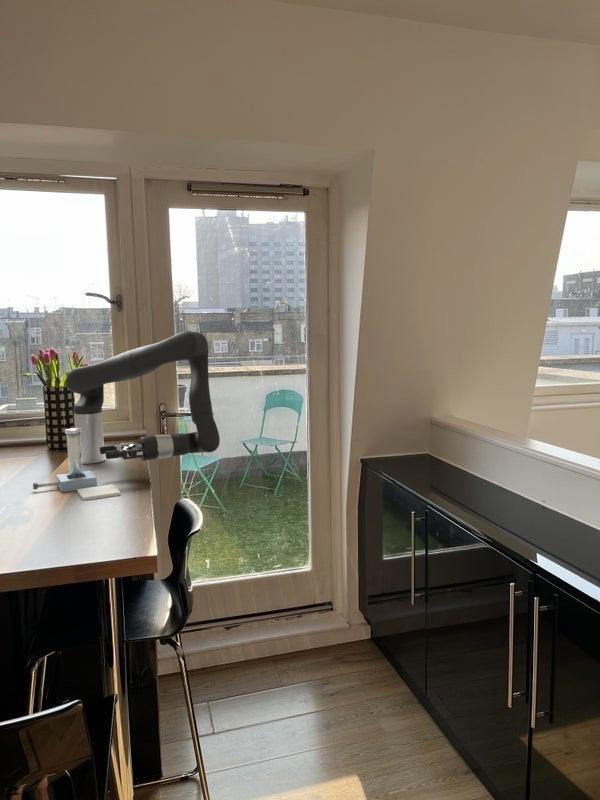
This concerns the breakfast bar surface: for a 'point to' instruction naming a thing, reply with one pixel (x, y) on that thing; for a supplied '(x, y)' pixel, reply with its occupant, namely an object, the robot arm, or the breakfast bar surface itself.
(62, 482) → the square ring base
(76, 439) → the steel pin
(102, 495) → the felt pad
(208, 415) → the robot arm
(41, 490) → the breakfast bar surface
